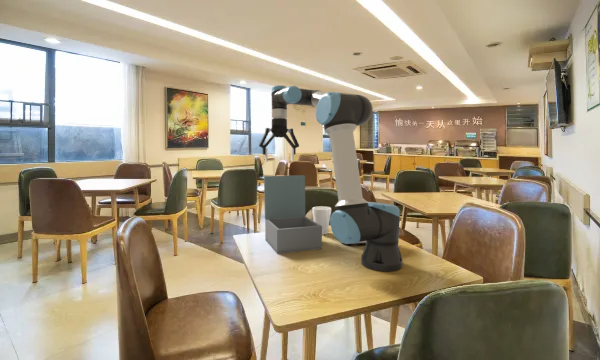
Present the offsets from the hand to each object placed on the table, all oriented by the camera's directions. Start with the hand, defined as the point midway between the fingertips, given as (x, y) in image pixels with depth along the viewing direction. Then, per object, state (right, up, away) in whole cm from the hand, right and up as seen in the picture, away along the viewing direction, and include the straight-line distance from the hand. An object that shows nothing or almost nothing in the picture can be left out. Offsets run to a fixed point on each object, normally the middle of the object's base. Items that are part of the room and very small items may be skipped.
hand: (279, 161), depth 161 cm
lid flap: (+3, -17, -8) cm, 19 cm away
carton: (+7, -38, -16) cm, 42 cm away
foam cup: (+21, -37, +3) cm, 42 cm away
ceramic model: (+17, -35, +16) cm, 42 cm away
